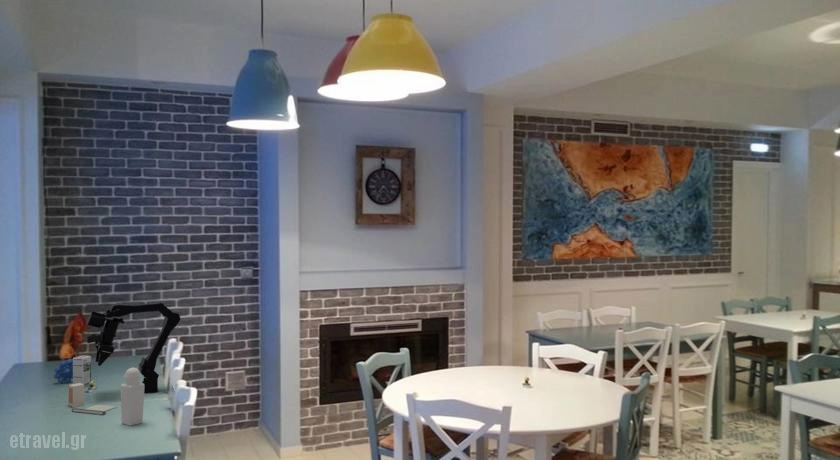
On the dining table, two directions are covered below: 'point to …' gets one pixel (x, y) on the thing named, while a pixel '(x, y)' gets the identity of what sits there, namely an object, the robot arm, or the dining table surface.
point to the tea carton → (76, 394)
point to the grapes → (64, 371)
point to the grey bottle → (132, 398)
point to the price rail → (89, 411)
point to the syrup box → (82, 370)
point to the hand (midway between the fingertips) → (97, 363)
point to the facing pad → (101, 407)
